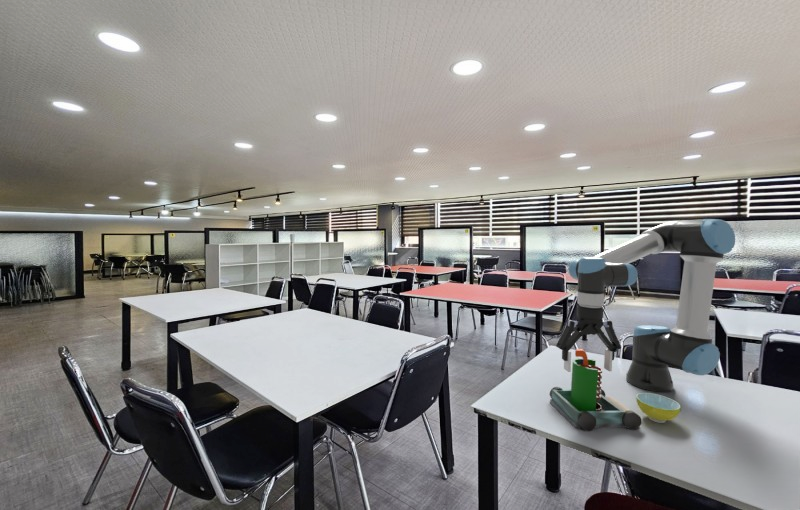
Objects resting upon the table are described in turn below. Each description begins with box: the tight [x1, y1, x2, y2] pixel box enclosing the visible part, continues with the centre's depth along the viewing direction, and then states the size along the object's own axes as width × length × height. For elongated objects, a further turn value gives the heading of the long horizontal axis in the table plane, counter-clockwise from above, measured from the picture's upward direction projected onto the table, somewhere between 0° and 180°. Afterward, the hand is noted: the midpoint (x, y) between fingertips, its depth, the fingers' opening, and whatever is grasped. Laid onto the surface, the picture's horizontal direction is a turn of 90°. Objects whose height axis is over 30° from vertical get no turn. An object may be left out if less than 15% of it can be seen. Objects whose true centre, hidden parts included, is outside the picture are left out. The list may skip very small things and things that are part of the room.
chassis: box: [549, 386, 642, 432], centre depth 114 cm, size 20×19×5 cm
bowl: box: [635, 392, 681, 424], centre depth 111 cm, size 11×12×6 cm
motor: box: [570, 348, 603, 411], centre depth 113 cm, size 10×9×20 cm
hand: (587, 370), depth 113 cm, fingers open, 13 cm apart
